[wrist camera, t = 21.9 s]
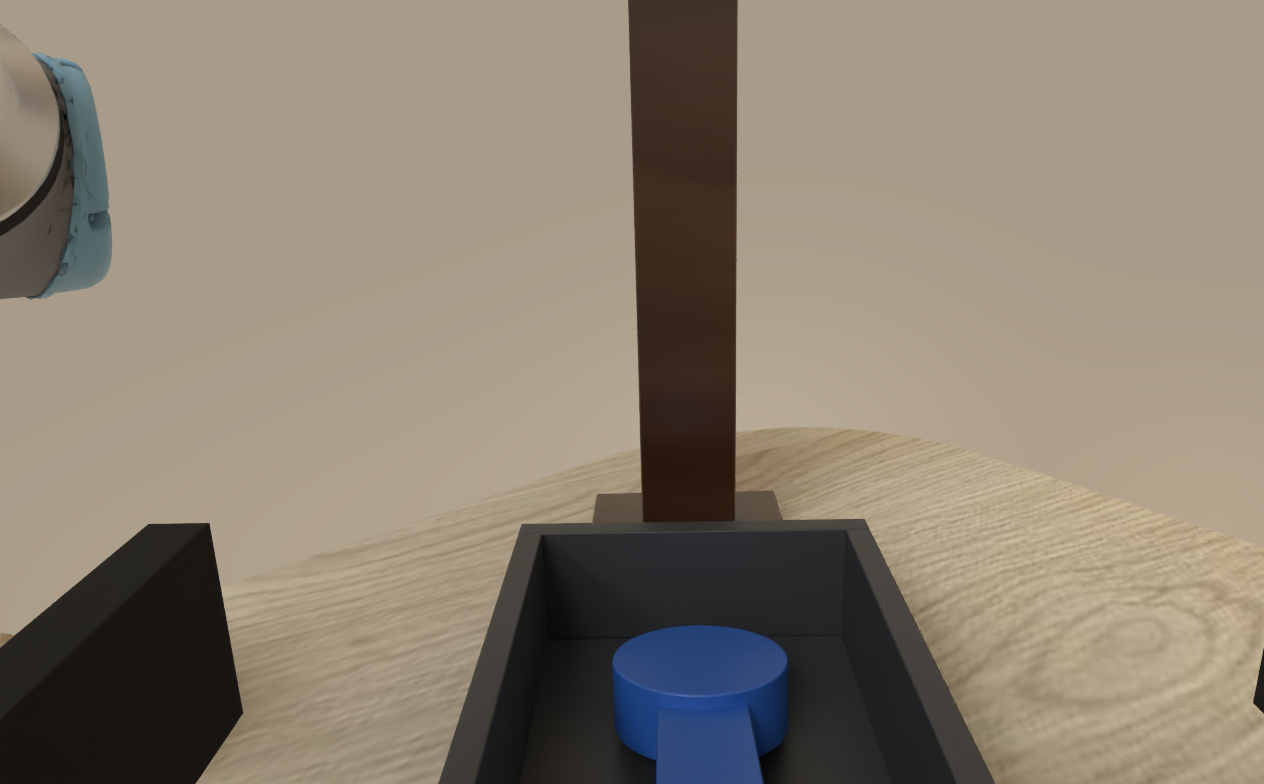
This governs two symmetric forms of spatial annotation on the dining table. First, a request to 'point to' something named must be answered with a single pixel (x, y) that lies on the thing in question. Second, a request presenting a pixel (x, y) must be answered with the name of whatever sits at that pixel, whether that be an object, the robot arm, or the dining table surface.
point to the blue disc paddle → (702, 702)
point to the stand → (685, 265)
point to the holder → (714, 596)
